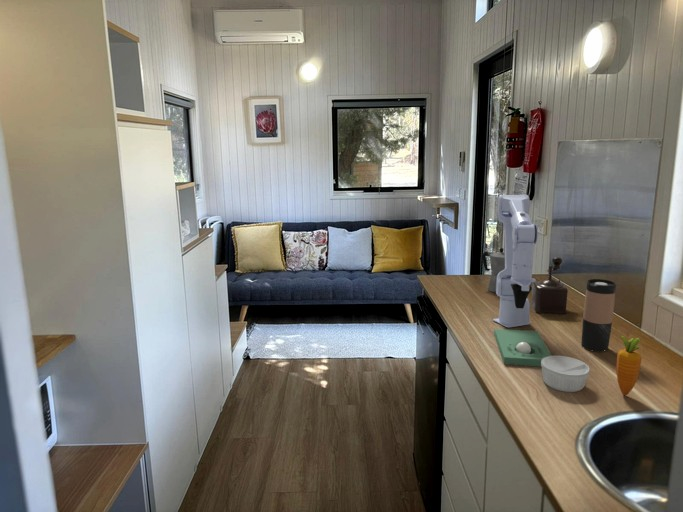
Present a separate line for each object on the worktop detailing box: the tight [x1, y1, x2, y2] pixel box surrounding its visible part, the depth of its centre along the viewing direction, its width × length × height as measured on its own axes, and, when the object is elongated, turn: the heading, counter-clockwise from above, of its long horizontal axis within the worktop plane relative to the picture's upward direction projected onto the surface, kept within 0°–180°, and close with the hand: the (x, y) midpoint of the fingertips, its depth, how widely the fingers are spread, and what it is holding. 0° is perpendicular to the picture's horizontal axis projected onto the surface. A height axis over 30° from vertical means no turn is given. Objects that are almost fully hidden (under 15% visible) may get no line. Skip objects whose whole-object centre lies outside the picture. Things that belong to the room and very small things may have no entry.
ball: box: [516, 342, 531, 354], centre depth 140 cm, size 4×4×4 cm
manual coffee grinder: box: [530, 256, 569, 315], centre depth 181 cm, size 16×11×18 cm
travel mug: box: [581, 278, 617, 352], centre depth 144 cm, size 8×8×20 cm
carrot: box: [615, 335, 642, 396], centre depth 116 cm, size 5×5×15 cm
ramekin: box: [540, 355, 591, 393], centre depth 124 cm, size 11×11×5 cm
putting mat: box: [493, 328, 553, 367], centre depth 145 cm, size 22×13×2 cm, turn 170°
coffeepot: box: [481, 247, 505, 294], centre depth 204 cm, size 15×9×18 cm, turn 44°
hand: (519, 307), depth 150 cm, fingers closed
